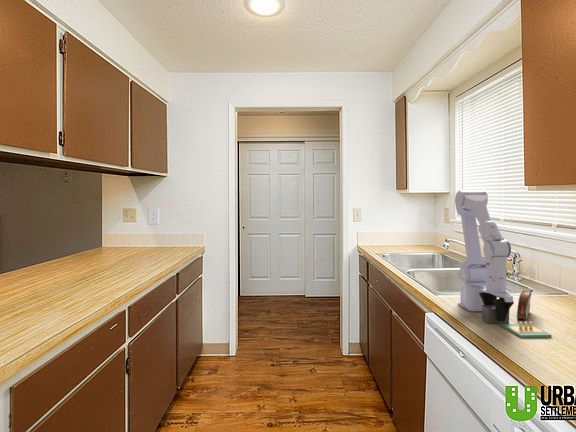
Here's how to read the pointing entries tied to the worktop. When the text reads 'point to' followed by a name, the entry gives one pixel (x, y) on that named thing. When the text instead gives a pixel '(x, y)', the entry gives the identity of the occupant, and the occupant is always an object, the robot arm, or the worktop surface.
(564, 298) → the worktop surface
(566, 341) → the worktop surface
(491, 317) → the block
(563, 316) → the worktop surface
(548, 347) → the worktop surface
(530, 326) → the board
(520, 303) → the tin
